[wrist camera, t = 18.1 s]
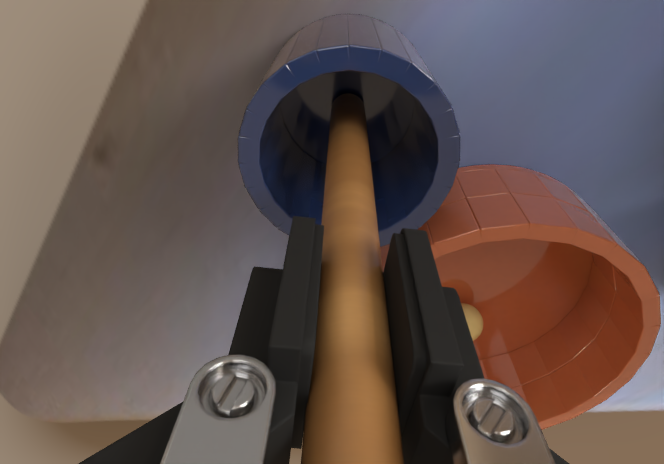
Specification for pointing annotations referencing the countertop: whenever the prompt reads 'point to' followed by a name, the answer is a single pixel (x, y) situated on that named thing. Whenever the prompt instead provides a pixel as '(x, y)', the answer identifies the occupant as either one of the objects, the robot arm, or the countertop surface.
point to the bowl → (544, 288)
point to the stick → (351, 313)
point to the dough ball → (473, 320)
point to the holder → (381, 118)
